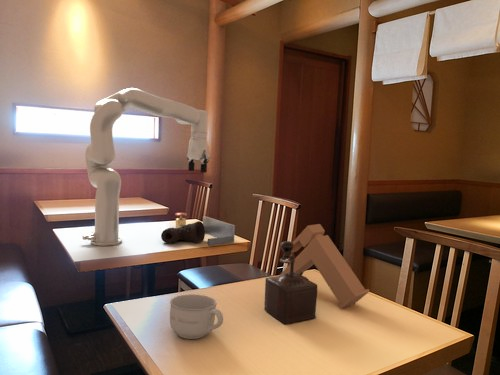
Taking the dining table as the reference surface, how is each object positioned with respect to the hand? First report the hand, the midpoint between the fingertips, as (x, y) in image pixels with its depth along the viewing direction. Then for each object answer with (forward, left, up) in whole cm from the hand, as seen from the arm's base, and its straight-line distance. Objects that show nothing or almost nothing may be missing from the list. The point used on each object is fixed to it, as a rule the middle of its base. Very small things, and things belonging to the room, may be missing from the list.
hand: (197, 171), depth 198 cm
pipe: (-14, -12, -31) cm, 36 cm away
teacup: (-57, -91, -31) cm, 112 cm away
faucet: (-11, -89, -31) cm, 95 cm away
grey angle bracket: (-2, -12, -30) cm, 33 cm away
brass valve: (-4, +8, -30) cm, 32 cm away
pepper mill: (-29, -92, -31) cm, 101 cm away
